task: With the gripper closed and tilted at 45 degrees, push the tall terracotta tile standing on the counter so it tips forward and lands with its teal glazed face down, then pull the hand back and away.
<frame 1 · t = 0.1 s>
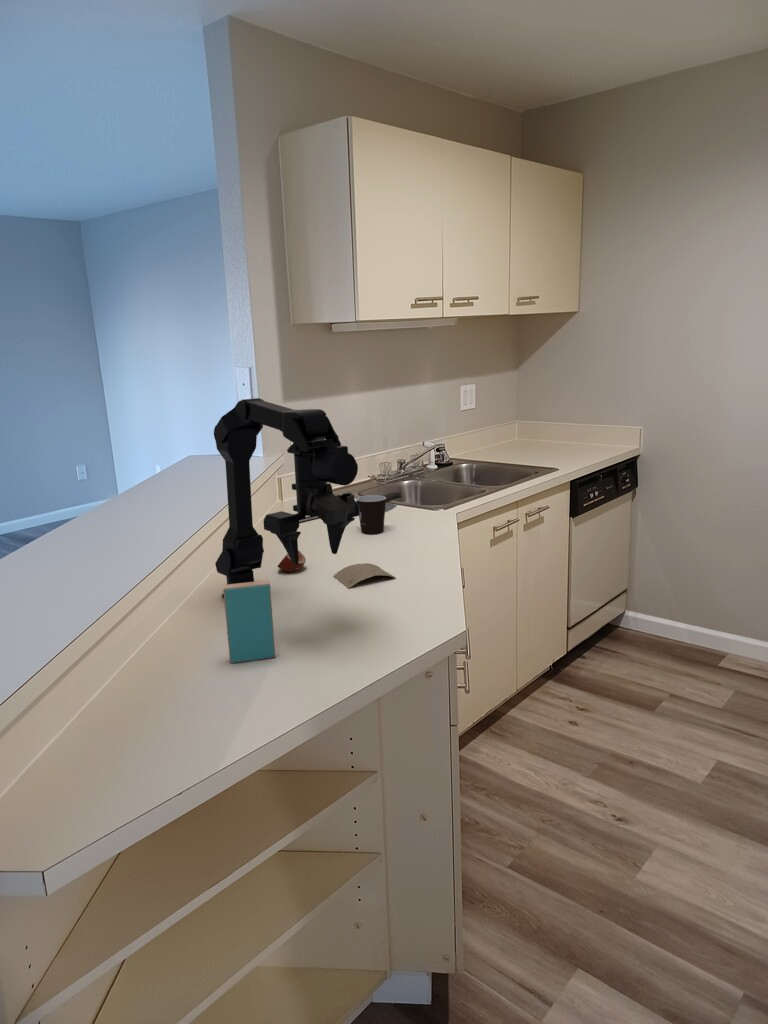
hand: (315, 559, 138), 15 cm above the table, tool pointing down, fingers open, 9 cm apart
coffee mug: (373, 531, 212), on the table
fruit slice: (292, 570, 179), on the table
cleaver: (381, 507, 243), on the table
clay tablet: (364, 580, 171), on the table
tile: (252, 658, 130), on the table
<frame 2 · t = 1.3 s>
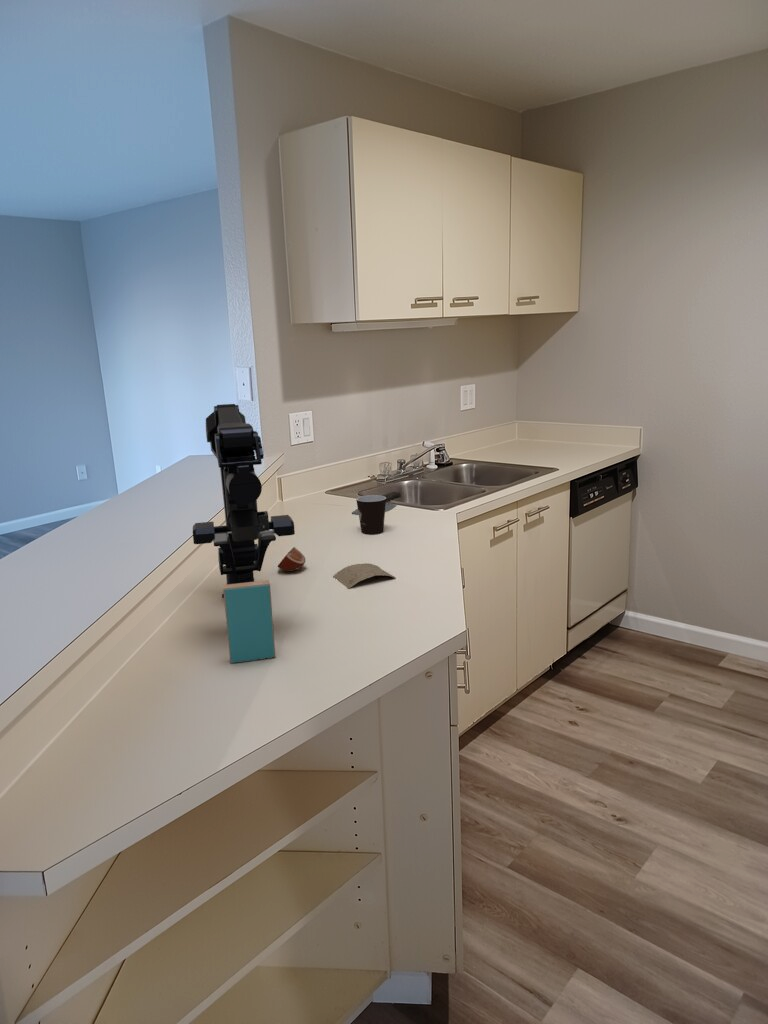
hand: (247, 572, 140), 12 cm above the table, tool pointing down, fingers open, 4 cm apart
nothing on the table moved.
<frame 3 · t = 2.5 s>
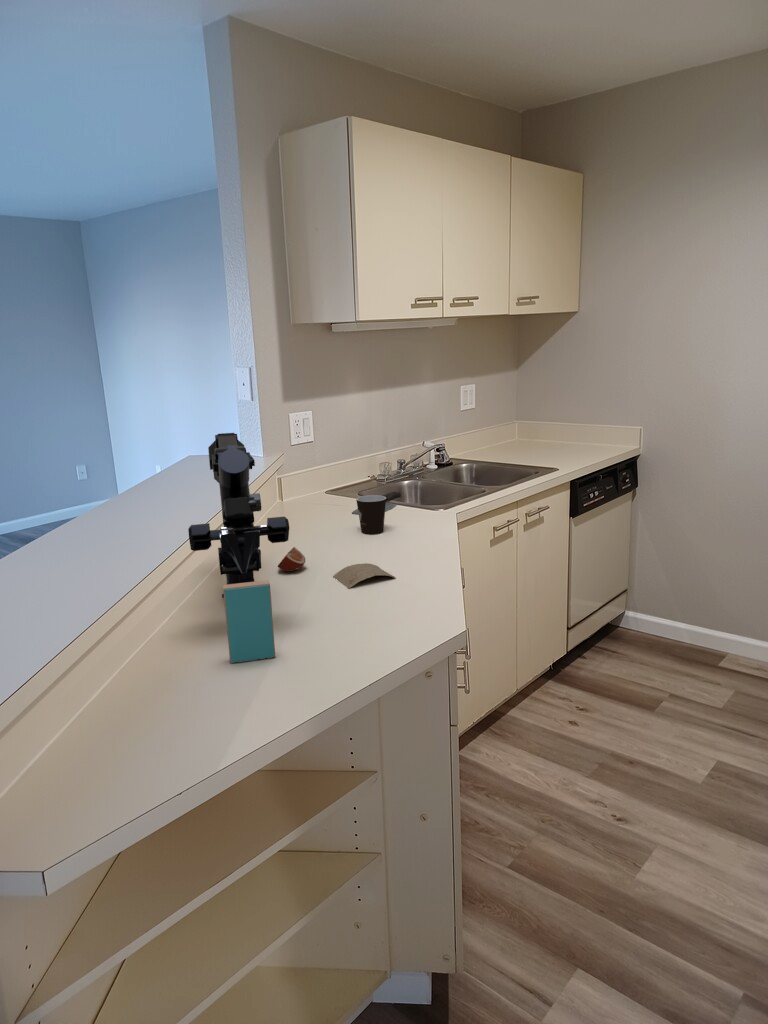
hand: (244, 572, 135), 13 cm above the table, tool tilted 45°, fingers closed
nothing on the table moved.
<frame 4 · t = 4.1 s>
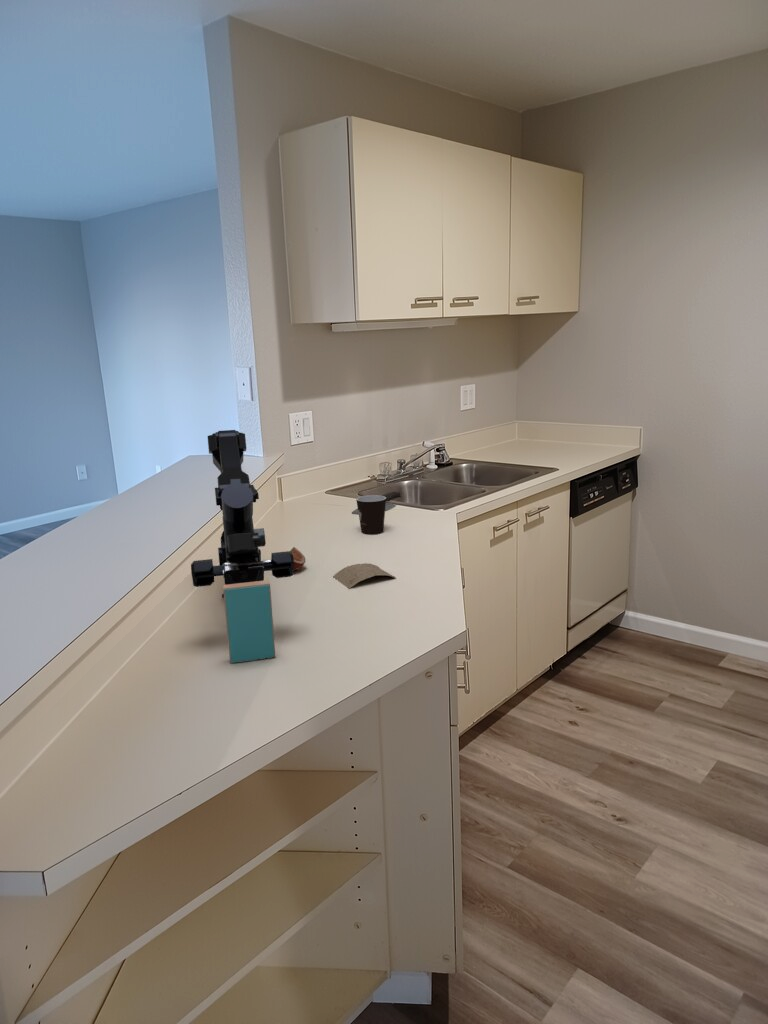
hand: (247, 609, 132), 8 cm above the table, tool tilted 45°, fingers closed
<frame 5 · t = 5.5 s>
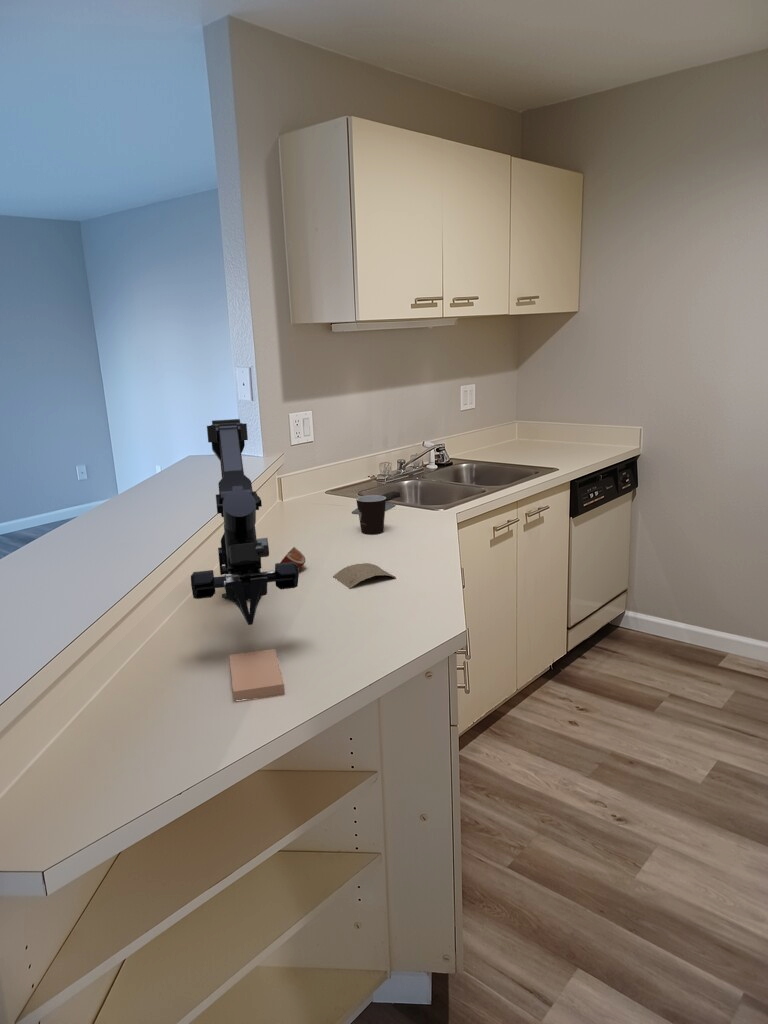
hand: (250, 623, 126), 8 cm above the table, tool tilted 45°, fingers closed
tile: (252, 657, 128), point 1 cm above the table, tilted 90°
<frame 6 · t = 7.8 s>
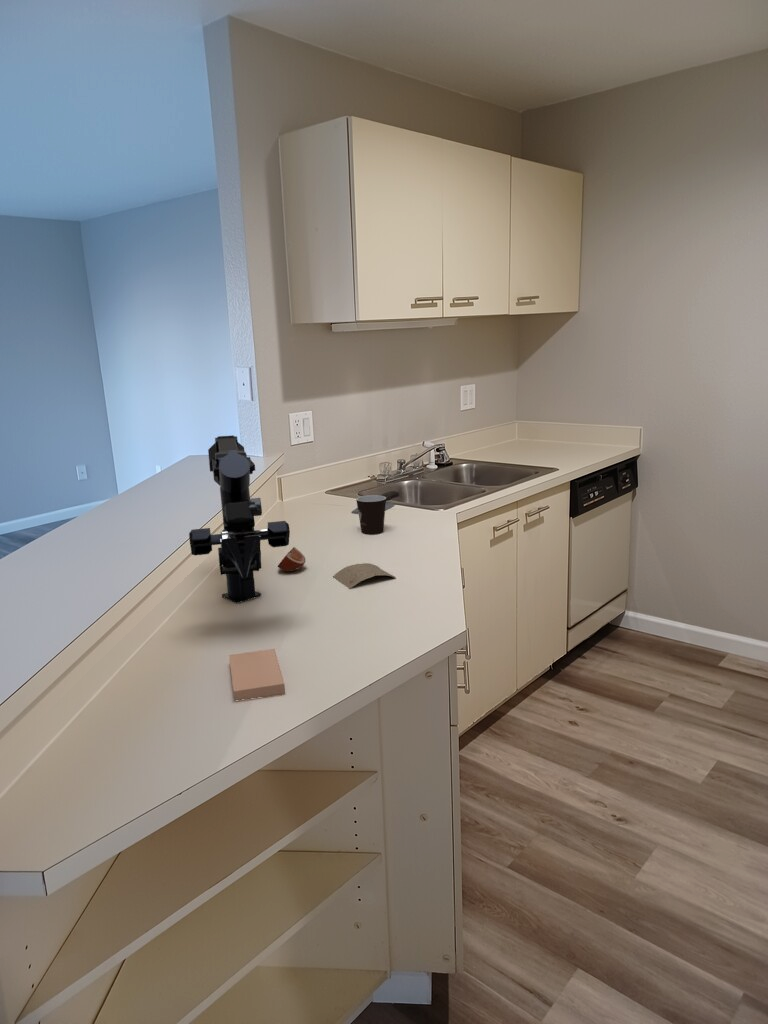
hand: (244, 577, 135), 12 cm above the table, tool tilted 45°, fingers closed
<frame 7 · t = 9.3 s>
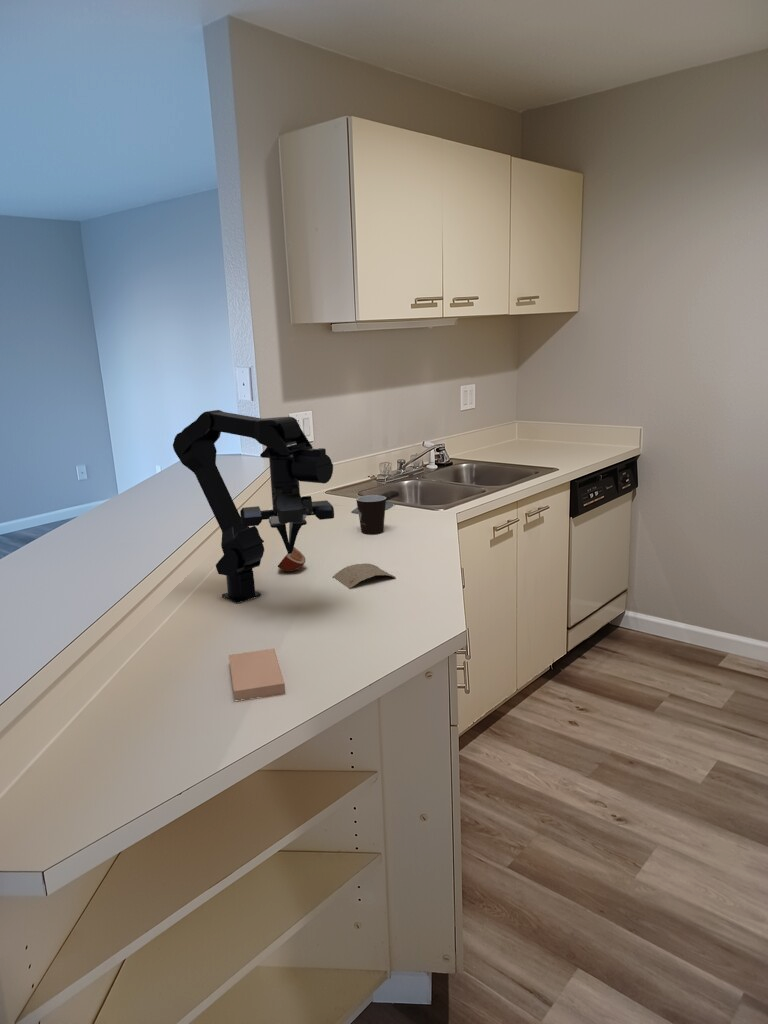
hand: (289, 553, 151), 12 cm above the table, tool pointing down, fingers closed
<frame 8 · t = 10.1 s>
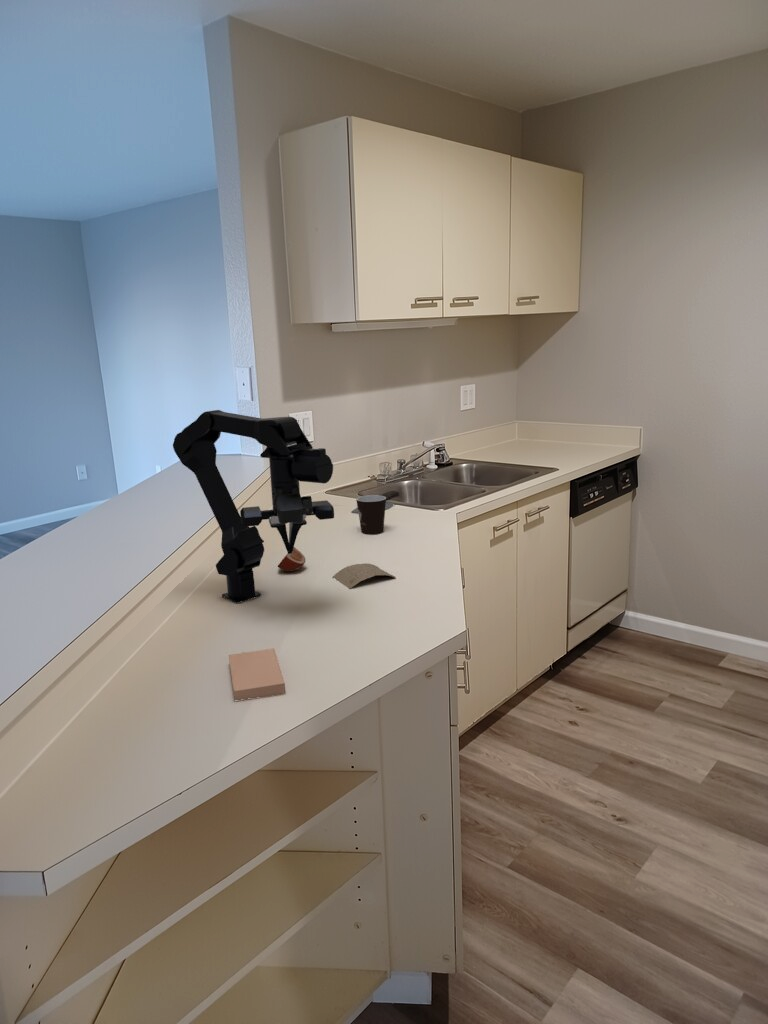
hand: (289, 553, 151), 12 cm above the table, tool pointing down, fingers closed
at the end: tile tilted 90°; tile inside the target area (1.4 cm from its centre), point 0.8 cm above the table; the gripper is holding nothing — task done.
